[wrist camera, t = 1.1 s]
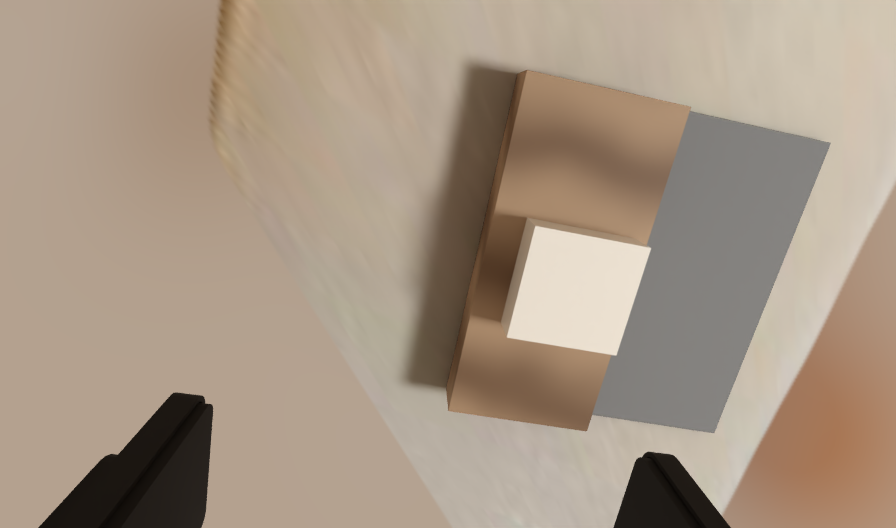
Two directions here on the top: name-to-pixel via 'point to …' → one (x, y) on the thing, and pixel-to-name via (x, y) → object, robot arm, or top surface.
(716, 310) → the mat
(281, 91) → the top surface
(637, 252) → the block
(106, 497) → the robot arm
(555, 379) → the board
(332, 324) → the top surface
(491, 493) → the top surface
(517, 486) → the top surface
